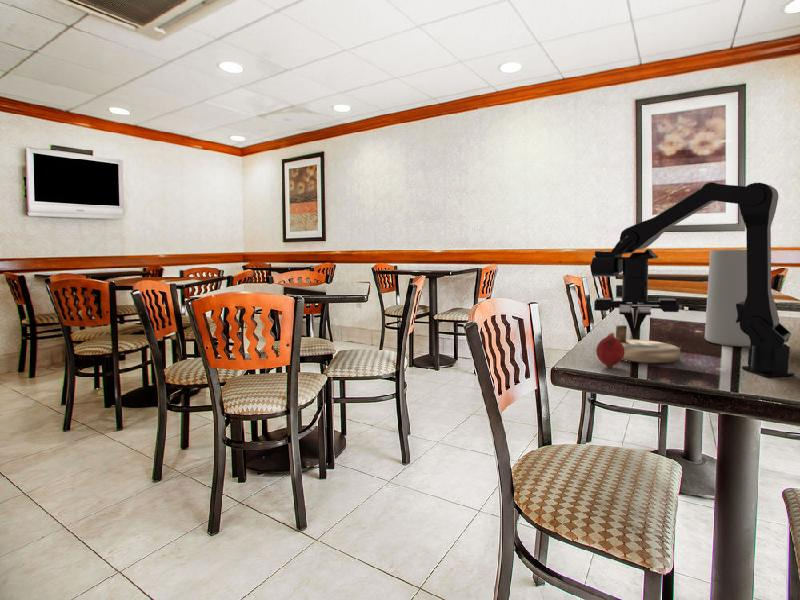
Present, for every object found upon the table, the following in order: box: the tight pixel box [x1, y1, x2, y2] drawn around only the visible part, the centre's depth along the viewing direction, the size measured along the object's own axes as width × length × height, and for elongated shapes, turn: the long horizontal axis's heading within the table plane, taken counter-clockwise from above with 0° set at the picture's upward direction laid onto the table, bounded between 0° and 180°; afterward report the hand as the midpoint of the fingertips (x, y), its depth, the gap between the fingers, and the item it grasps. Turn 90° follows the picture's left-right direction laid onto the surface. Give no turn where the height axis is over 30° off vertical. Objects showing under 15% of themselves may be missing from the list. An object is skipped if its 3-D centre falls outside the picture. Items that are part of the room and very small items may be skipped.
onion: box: [595, 332, 624, 368], centre depth 103 cm, size 6×6×8 cm
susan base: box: [622, 359, 668, 365], centre depth 112 cm, size 12×12×1 cm
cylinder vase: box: [704, 249, 750, 348], centre depth 124 cm, size 12×12×25 cm
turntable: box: [615, 324, 681, 363], centre depth 111 cm, size 16×16×6 cm
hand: (634, 338), depth 117 cm, fingers closed
